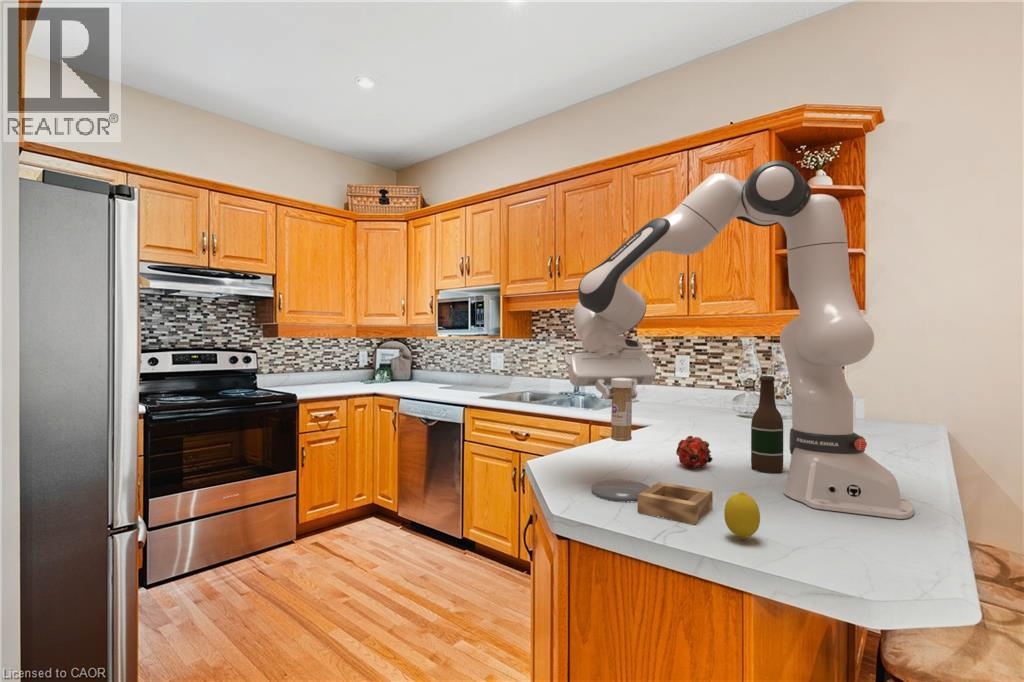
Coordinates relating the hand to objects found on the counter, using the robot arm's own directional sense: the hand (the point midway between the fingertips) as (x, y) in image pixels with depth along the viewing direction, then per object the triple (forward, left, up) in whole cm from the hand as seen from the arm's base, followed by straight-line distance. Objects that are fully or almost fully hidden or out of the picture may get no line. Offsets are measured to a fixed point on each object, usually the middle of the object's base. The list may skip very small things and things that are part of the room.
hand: (621, 397), depth 113 cm
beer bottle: (-22, -40, -21) cm, 50 cm away
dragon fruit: (-6, -32, -21) cm, 39 cm away
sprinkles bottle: (0, 0, -9) cm, 9 cm away
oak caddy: (-14, +4, -21) cm, 25 cm away
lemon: (-28, +12, -21) cm, 37 cm away
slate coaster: (0, 0, -21) cm, 21 cm away
